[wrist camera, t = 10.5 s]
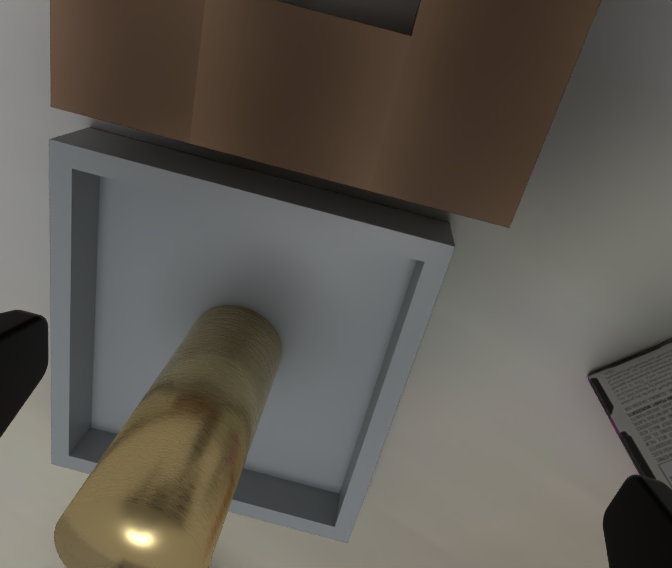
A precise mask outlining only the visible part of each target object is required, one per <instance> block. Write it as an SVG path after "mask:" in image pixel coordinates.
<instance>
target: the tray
mask: <svg viewBox="0 0 672 568" xmlns="http://www.w3.org/2000/svg"><path fill="white" fill-rule="evenodd" d="M49 196H50V327H51V458H52V464H54V465H58V466H61V467H65V468H69V469H73V470H76V471H80V472H84V473H87V474H91V472H92V471H93V469H94V468H95V467H96V465H97V464H98V462H99V461H100V459H101V458H102V456H103V455H104V454H105V452H106V451H107V449H108V448H109V446H110V445H111V443H112V442H113V440H114V439H115V438H116V436H117V435H118V433H119V432H120V430H121V429H122V427H123V426H124V425H125V423H126V422H127V420H128V419H129V417H130V416H131V414H132V413H133V412H134V410H135V409H136V407H137V406H138V404H139V403H140V401H141V400H142V398H143V397H144V396H145V394H146V393H147V391H148V390H149V388H150V387H151V385H152V384H153V383H154V381H155V380H156V378H157V377H158V375H159V374H160V372H161V371H162V369H163V368H164V367H165V365H166V364H167V362H168V361H169V359H170V358H171V356H172V355H173V354H174V352H175V351H176V349H177V348H178V346H179V345H180V343H181V342H182V340H183V339H184V338H185V336H186V335H187V333H188V332H189V330H190V329H191V327H192V326H193V325H194V323H195V322H196V320H197V319H198V318H199V317H200V316H201V315H202V314H203V313H205V312H206V311H208V310H210V309H212V308H215V307H218V306H223V305H236V306H241V307H245V308H248V309H251V310H253V311H255V312H257V313H259V314H260V315H262V316H263V317H265V318H266V319H267V320H268V321H269V322H270V323H271V324H272V325H273V327H274V328H275V329H276V331H277V333H278V335H279V337H280V340H281V343H282V359H281V362H280V365H279V368H278V371H277V374H276V377H275V379H274V382H273V385H272V388H271V391H270V394H269V396H268V399H267V402H266V405H265V408H264V411H263V413H262V416H261V419H260V422H259V425H258V428H257V430H256V433H255V436H254V439H253V442H252V445H251V447H250V450H249V453H248V456H247V459H246V462H245V464H244V467H243V470H242V473H241V476H240V479H239V481H238V484H237V487H236V490H235V493H234V495H233V498H232V501H231V504H230V507H229V510H228V511H229V512H233V513H237V514H240V515H244V516H248V517H252V518H255V519H259V520H263V521H267V522H270V523H274V524H278V525H281V526H285V527H289V528H293V529H296V530H300V531H304V532H308V533H311V534H315V535H319V536H322V537H326V538H330V539H334V540H337V541H341V542H345V543H348V541H349V538H350V536H351V533H352V530H353V527H354V525H355V522H356V519H357V516H358V514H359V511H360V508H361V505H362V503H363V500H364V497H365V494H366V492H367V489H368V486H369V483H370V480H371V478H372V475H373V472H374V469H375V467H376V464H377V461H378V458H379V456H380V453H381V450H382V447H383V445H384V442H385V439H386V436H387V434H388V431H389V428H390V425H391V423H392V420H393V417H394V414H395V412H396V409H397V406H398V403H399V401H400V398H401V395H402V392H403V390H404V387H405V384H406V381H407V379H408V376H409V373H410V370H411V368H412V365H413V362H414V359H415V357H416V354H417V351H418V348H419V346H420V343H421V340H422V337H423V335H424V332H425V329H426V326H427V324H428V321H429V318H430V315H431V313H432V310H433V307H434V304H435V302H436V299H437V296H438V293H439V291H440V288H441V285H442V282H443V279H444V277H445V274H446V271H447V268H448V266H449V263H450V260H451V257H452V255H453V252H454V249H455V243H454V239H453V235H452V231H451V227H450V223H448V222H444V221H441V220H437V219H433V218H429V217H425V216H422V215H418V214H414V213H410V212H407V211H403V210H399V209H395V208H391V207H388V206H384V205H380V204H376V203H372V202H369V201H365V200H361V199H357V198H354V197H350V196H346V195H342V194H338V193H335V192H331V191H327V190H323V189H320V188H316V187H312V186H308V185H304V184H301V183H297V182H293V181H289V180H286V179H282V178H278V177H274V176H270V175H267V174H263V173H259V172H255V171H252V170H248V169H244V168H240V167H236V166H233V165H229V164H225V163H221V162H218V161H214V160H210V159H206V158H202V157H199V156H195V155H191V154H187V153H184V152H180V151H176V150H172V149H168V148H165V147H161V146H157V145H153V144H150V143H146V142H142V141H138V140H134V139H131V138H127V137H123V136H119V135H116V134H112V133H108V132H104V131H100V130H97V129H93V128H86V129H82V130H79V131H76V132H72V133H69V134H65V135H62V136H58V137H55V138H52V139H49Z"/></svg>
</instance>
